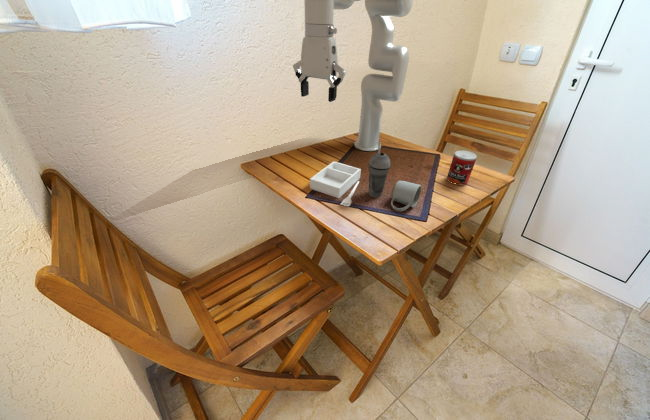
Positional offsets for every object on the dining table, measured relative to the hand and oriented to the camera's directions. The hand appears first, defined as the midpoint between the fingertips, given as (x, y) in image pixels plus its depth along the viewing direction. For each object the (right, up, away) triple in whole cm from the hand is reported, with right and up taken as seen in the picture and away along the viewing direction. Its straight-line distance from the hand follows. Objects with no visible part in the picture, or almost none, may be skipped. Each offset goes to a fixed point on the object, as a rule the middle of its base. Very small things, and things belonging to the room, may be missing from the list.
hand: (318, 98), depth 87 cm
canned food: (+54, -23, +25) cm, 63 cm away
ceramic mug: (+29, -32, +11) cm, 44 cm away
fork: (+11, -29, +15) cm, 34 cm away
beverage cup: (+20, -29, +15) cm, 38 cm away
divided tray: (+6, -24, +21) cm, 32 cm away
